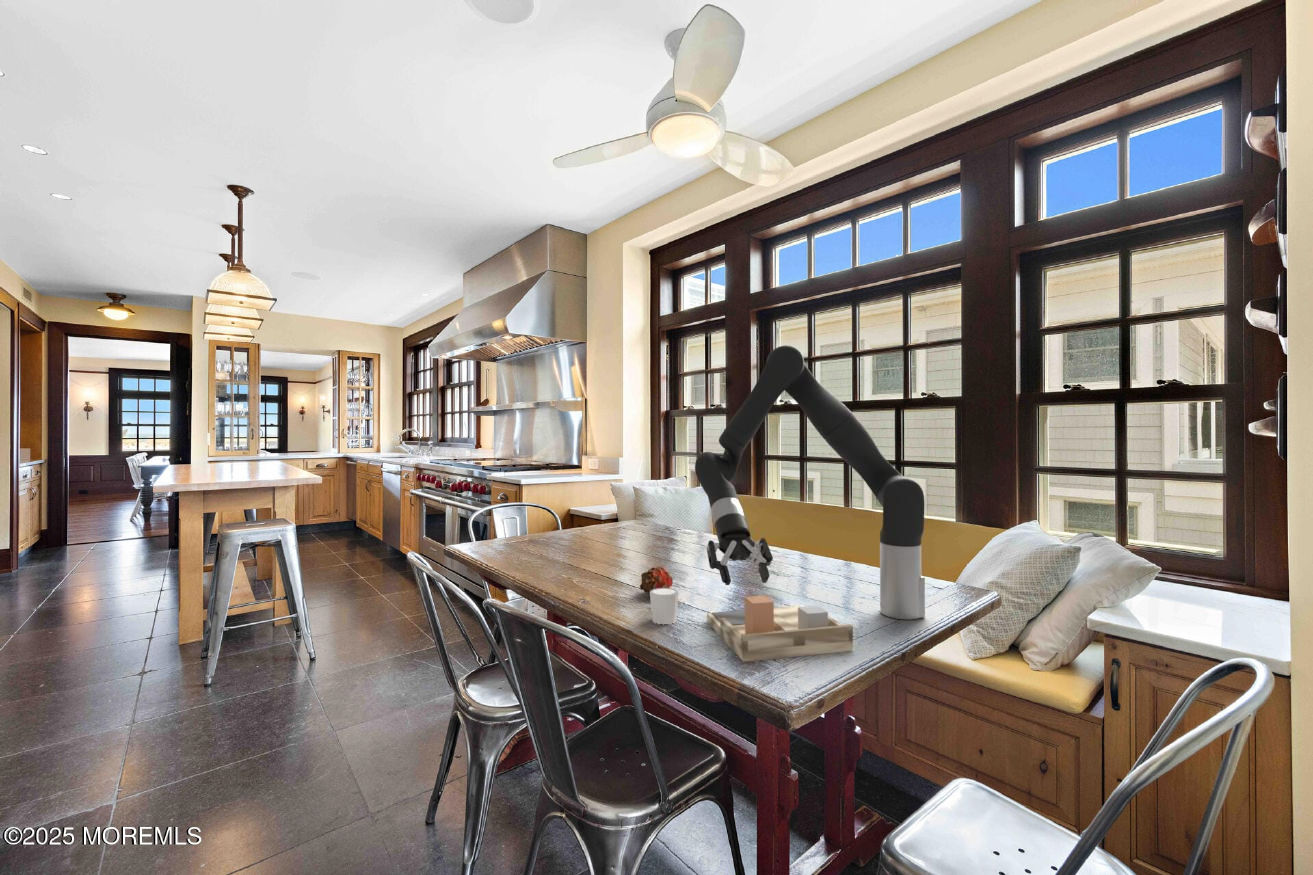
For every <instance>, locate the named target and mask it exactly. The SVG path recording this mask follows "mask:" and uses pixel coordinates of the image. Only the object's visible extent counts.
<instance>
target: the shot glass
mask: <svg viewBox="0 0 1313 875" xmlns="http://www.w3.org/2000/svg"><path fill="white" fill-rule="evenodd" d="M679 593H680V592H679V590H678V589H675V588H671V587H670V588H657V589H653V590H651V591H650V595H649V597H650V598H649V599H650V609H651V617H652V619H651V620H652V623H653V624H656V623H657V624H656V625H660V624H663V626H665V625H664V624H668V625H672V623H673V624H676V622H677V616H678V615H677V614H678V602H679Z"/></svg>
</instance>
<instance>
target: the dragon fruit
mask: <svg viewBox="0 0 1313 875" xmlns="http://www.w3.org/2000/svg"><path fill="white" fill-rule="evenodd" d="M640 575H641V579H640V580H641V583H640V585H639V589H640V590H642V591H643V592H644V593H646V594H648V595H649V596H650V591H651V590H653V589H657V588H671V587H672V586H673V578H672V576H671V575H670V573H669V572H668V571H667V570H666V569H664V567H662V566H661V565H659V566H656V567H652V568H650V569H648V570H647V571H645V572H643V573H641V574H640Z"/></svg>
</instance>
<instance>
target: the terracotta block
mask: <svg viewBox="0 0 1313 875" xmlns="http://www.w3.org/2000/svg"><path fill="white" fill-rule="evenodd" d="M774 603H775V602H774V601H773V600H772V599H771V598H769V597H768V596H766V595H757V596H756V595H755V596H744V610H745V634H751V633H762V632H773V631H774V608H775V605H774Z"/></svg>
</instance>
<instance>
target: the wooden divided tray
mask: <svg viewBox="0 0 1313 875" xmlns="http://www.w3.org/2000/svg"><path fill="white" fill-rule="evenodd" d="M798 607H802V605H793V606H792V605H790V606H779V607H774V631H773V632H762V633H751V634H745V609H741V610H740V609H739V610H729V611H728V610H727V611H726V610H725V611H715V612H707V613H706V622H707V624H709V626H711V628H712V629H713V630H714V631H715V632H716V633H717V635H719V636H720V638H721V639H722V640H723V641H724V642H725V643H726V644H727V646H729V648H730V649H731V650H732V651H733V652H734V653H735V654H736V655H737V657H739V658H740V660H741V661H742V662H744V663H745V662H754V661H764V660H772V659H773V660H775V659H784V658H794V657H803V656H814V655H823V654H834V653H843V652H844V653H845V652H846V653H847V652H853V651H854V626H853V625H852V624H845V625H844V624H842V623H841V622H840V621H837V620H836V619H835V618H833V617H831V616H829V615H828V627H818V628H807V629H798Z"/></svg>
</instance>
